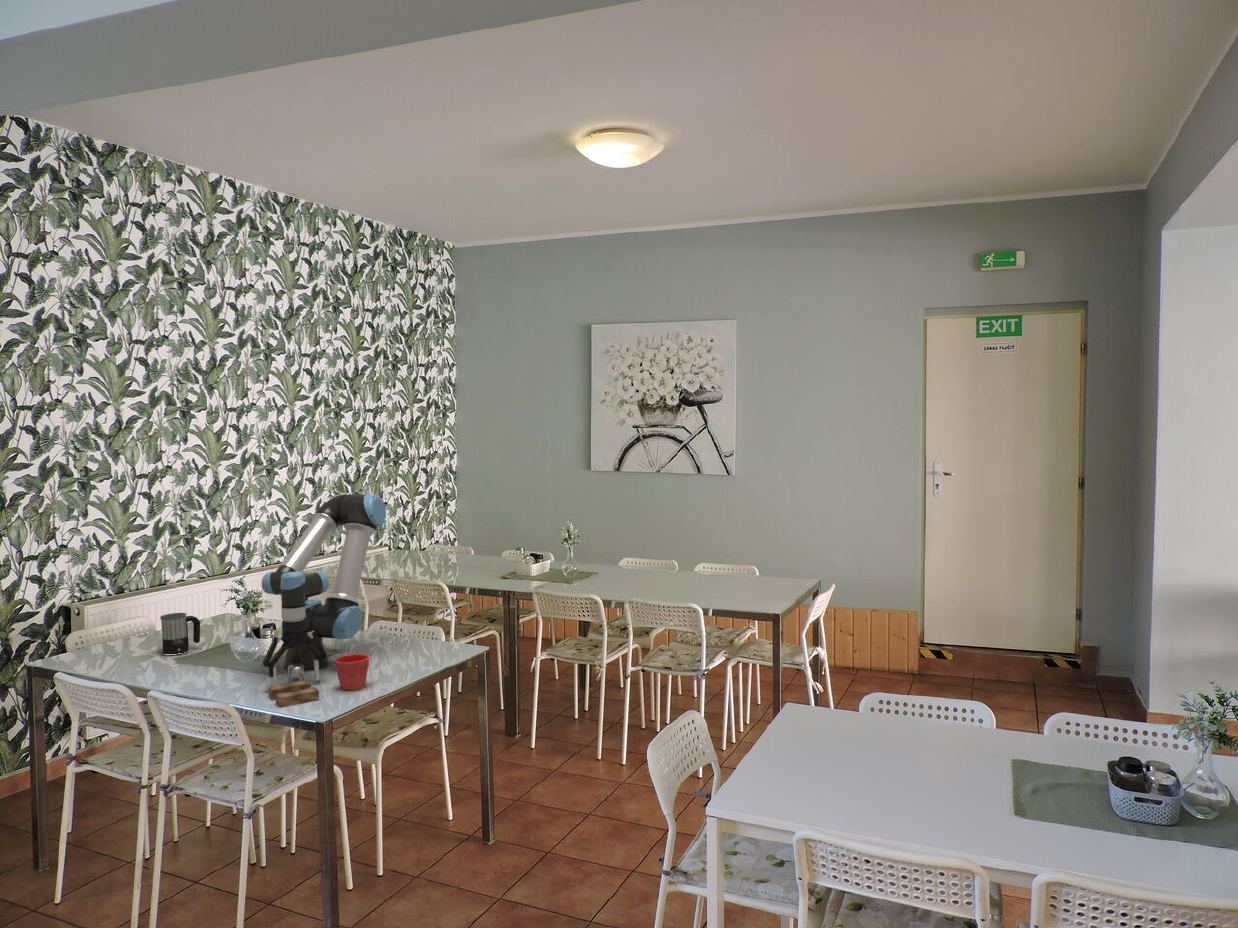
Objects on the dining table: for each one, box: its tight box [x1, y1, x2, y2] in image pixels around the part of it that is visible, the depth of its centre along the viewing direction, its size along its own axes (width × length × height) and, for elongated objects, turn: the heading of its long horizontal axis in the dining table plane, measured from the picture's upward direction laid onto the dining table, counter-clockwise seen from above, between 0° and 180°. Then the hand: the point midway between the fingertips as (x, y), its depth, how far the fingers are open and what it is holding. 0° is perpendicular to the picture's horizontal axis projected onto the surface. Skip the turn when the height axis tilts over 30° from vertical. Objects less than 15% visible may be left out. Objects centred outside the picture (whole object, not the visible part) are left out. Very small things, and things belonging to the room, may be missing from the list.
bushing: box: [287, 664, 305, 684], centre depth 294 cm, size 5×5×7 cm
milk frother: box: [159, 612, 201, 654], centre depth 344 cm, size 14×16×15 cm
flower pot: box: [334, 653, 370, 691], centre depth 292 cm, size 11×11×10 cm
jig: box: [267, 679, 320, 708], centre depth 282 cm, size 12×14×3 cm
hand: (295, 682), depth 294 cm, fingers open, 13 cm apart
